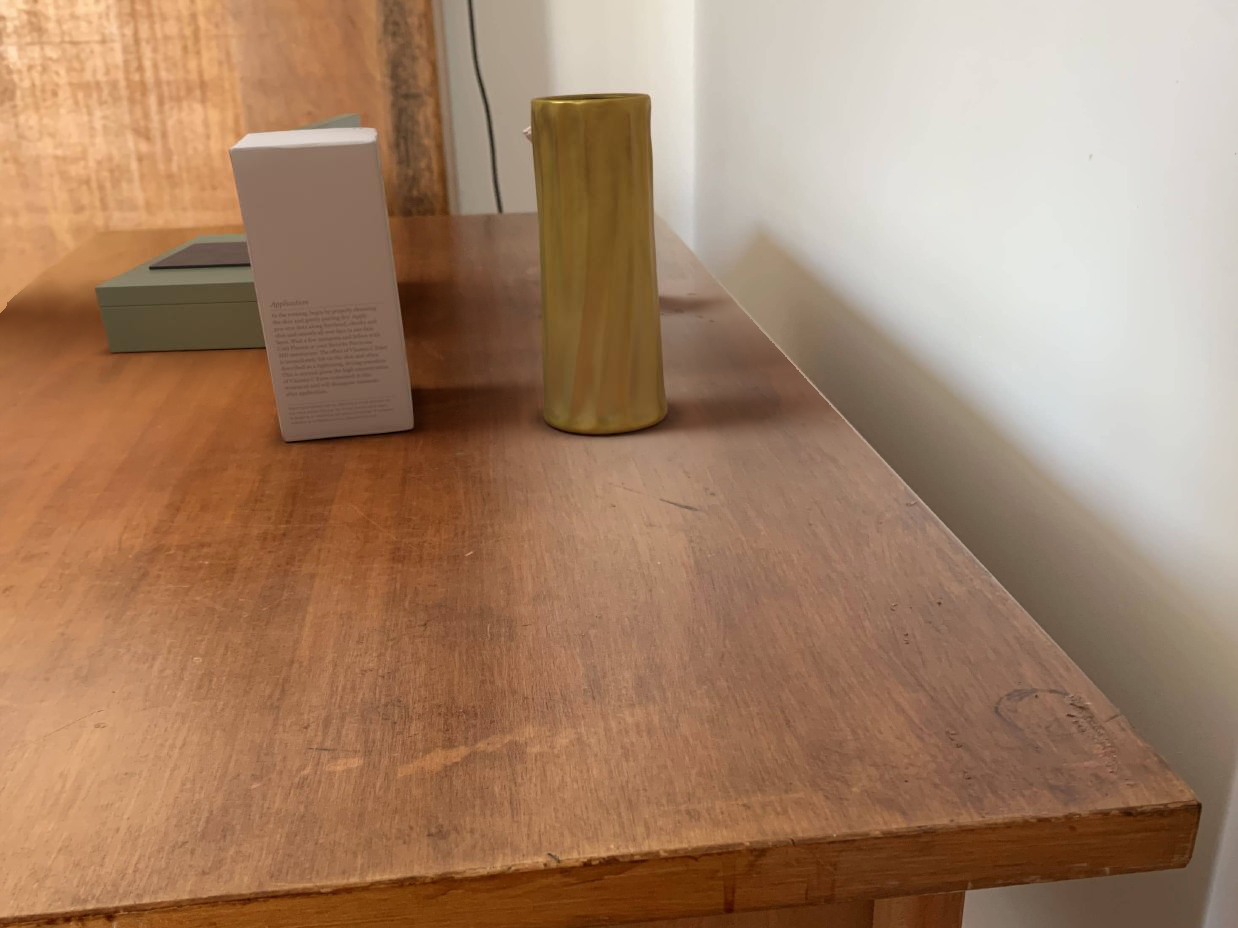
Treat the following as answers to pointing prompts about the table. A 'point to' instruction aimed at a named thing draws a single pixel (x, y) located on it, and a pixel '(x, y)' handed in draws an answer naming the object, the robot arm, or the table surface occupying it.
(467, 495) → the table surface
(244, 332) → the green l-shaped stand
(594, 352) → the vase
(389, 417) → the small box
